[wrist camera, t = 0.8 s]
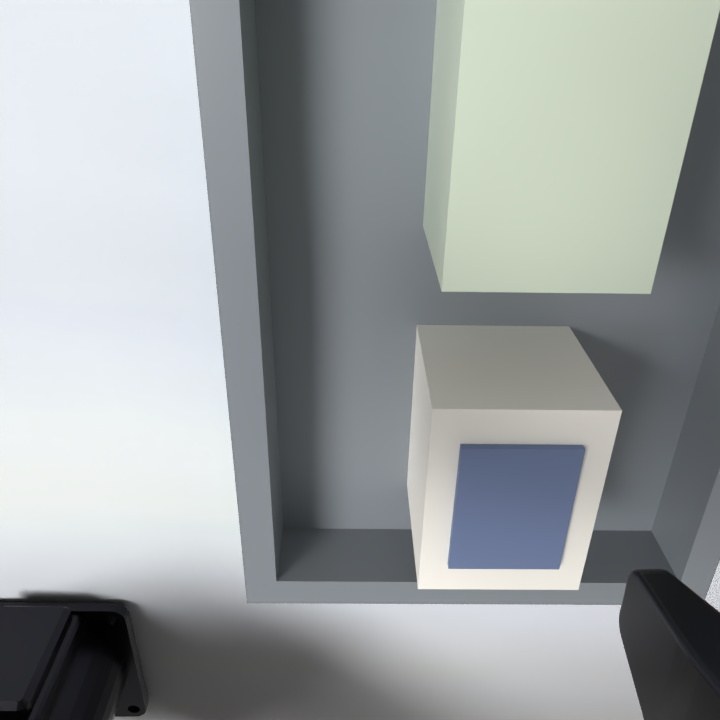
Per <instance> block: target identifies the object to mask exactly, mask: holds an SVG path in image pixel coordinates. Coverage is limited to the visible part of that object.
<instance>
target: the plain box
mask: <svg viewBox="0 0 720 720" xmlns="http://www.w3.org/2000/svg"><path fill="white" fill-rule="evenodd" d="M719 11H720V0H437V8H436V24H435V40H434V56H433V73H432V89H431V105H430V121H429V137H428V153H427V169H426V186H425V202H424V218H423V228H424V231H425V235H426V238H427V242H428V245H429V249H430V252H431V256H432V259H433V263H434V266H435V270H436V274H437V277H438V281H439V284H440V288H441V291H442V292H526V293H618V294H651V290H652V286H653V282H654V278H655V274H656V270H657V265H658V261H659V257H660V253H661V249H662V245H663V241H664V237H665V233H666V229H667V224H668V220H669V216H670V212H671V208H672V204H673V200H674V196H675V192H676V188H677V183H678V179H679V175H680V171H681V167H682V163H683V159H684V155H685V151H686V147H687V142H688V138H689V134H690V130H691V126H692V122H693V118H694V114H695V110H696V106H697V101H698V97H699V93H700V89H701V85H702V81H703V77H704V73H705V69H706V65H707V60H708V56H709V52H710V48H711V44H712V40H713V36H714V32H715V28H716V23H717V19H718V15H719Z"/></svg>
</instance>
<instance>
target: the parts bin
mask: <svg viewBox="0 0 720 720" xmlns="http://www.w3.org/2000/svg"><path fill="white" fill-rule="evenodd" d="M189 2H190V13H191V23H192V33H193V44H194V54H195V65H196V75H197V86H198V96H199V106H200V117H201V127H202V138H203V148H204V159H205V169H206V179H207V190H208V200H209V211H210V221H211V232H212V242H213V252H214V263H215V273H216V284H217V294H218V304H219V315H220V325H221V336H222V346H223V357H224V367H225V377H226V388H227V398H228V409H229V419H230V430H231V440H232V450H233V461H234V471H235V482H236V492H237V502H238V513H239V523H240V534H241V544H242V555H243V565H244V575H245V586H246V596H247V603H359V604H572V605H622V600H623V596H624V591H625V587H626V582H627V578H628V576H629V574H630V572H631V571H633V570H635V569H665V570H667V571H669V572H670V573H672V574H673V575H674V576H675V577H677V578H678V579H679V580H680V581H682V582H683V583H684V584H685V585H687V586H688V587H689V588H690V589H691V590H693V591H694V592H695V593H696V594H698V595H699V596H700V597H701V598H703V599H704V600H705V597H706V595H707V592H708V590H709V587H710V584H711V582H712V579H713V576H714V574H715V571H716V568H717V566H718V563H719V560H720V11H719V15H718V19H717V23H716V28H715V32H714V36H713V40H712V44H711V48H710V52H709V56H708V60H707V65H706V69H705V73H704V77H703V81H702V85H701V89H700V93H699V97H698V101H697V106H696V110H695V114H694V118H693V122H692V126H691V130H690V134H689V138H688V142H687V147H686V151H685V155H684V159H683V163H682V167H681V171H680V175H679V179H678V183H677V188H676V192H675V196H674V200H673V204H672V208H671V212H670V216H669V220H668V224H667V229H666V233H665V237H664V241H663V245H662V249H661V253H660V257H659V261H658V265H657V270H656V274H655V278H654V282H653V286H652V290H651V294H618V293H526V292H442V291H441V288H440V284H439V281H438V277H437V274H436V270H435V266H434V263H433V259H432V256H431V252H430V249H429V245H428V242H427V238H426V235H425V231H424V228H423V218H424V202H425V186H426V169H427V153H428V137H429V121H430V105H431V89H432V73H433V56H434V40H435V24H436V8H437V0H189ZM417 325H478V326H569V327H570V329H571V330H572V332H573V333H574V335H575V336H576V338H577V340H578V341H579V343H580V344H581V346H582V348H583V349H584V351H585V352H586V354H587V356H588V357H589V359H590V360H591V362H592V364H593V365H594V367H595V368H596V370H597V371H598V373H599V375H600V376H601V378H602V379H603V381H604V383H605V384H606V386H607V387H608V389H609V391H610V392H611V394H612V395H613V397H614V399H615V400H616V402H617V403H618V405H619V406H620V408H621V410H622V413H621V417H620V421H619V425H618V430H617V434H616V438H615V442H614V446H613V450H612V454H611V458H610V462H609V466H608V471H607V475H606V479H605V483H604V487H603V491H602V495H601V499H600V503H599V507H598V512H597V516H596V520H595V524H594V528H593V532H592V536H591V540H590V544H589V548H588V553H587V557H586V561H585V565H584V569H583V573H582V577H581V581H580V585H579V589H578V590H483V589H418V585H417V576H416V566H415V557H414V547H413V538H412V528H411V518H410V509H409V499H408V490H407V476H408V460H409V444H410V428H411V411H412V395H413V379H414V363H415V347H416V331H417Z"/></svg>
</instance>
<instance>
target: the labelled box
mask: <svg viewBox="0 0 720 720" xmlns="http://www.w3.org/2000/svg"><path fill="white" fill-rule="evenodd" d="M621 413H622V410H621V408H620V406H619V405H618V403H617V402H616V400H615V399H614V397H613V395H612V394H611V392H610V391H609V389H608V387H607V386H606V384H605V383H604V381H603V379H602V378H601V376H600V375H599V373H598V371H597V370H596V368H595V367H594V365H593V364H592V362H591V360H590V359H589V357H588V356H587V354H586V352H585V351H584V349H583V348H582V346H581V344H580V343H579V341H578V340H577V338H576V336H575V335H574V333H573V332H572V330H571V329H570V327H569V326H478V325H417V331H416V347H415V363H414V379H413V395H412V411H411V428H410V444H409V460H408V476H407V490H408V499H409V509H410V518H411V528H412V538H413V547H414V557H415V566H416V576H417V585H418V589H483V590H578V589H579V585H580V581H581V577H582V573H583V569H584V565H585V561H586V557H587V553H588V548H589V544H590V540H591V536H592V532H593V528H594V524H595V520H596V516H597V512H598V507H599V503H600V499H601V495H602V491H603V487H604V483H605V479H606V475H607V471H608V466H609V462H610V458H611V454H612V450H613V446H614V442H615V438H616V434H617V430H618V425H619V421H620V417H621Z"/></svg>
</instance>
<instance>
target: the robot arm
mask: <svg viewBox="0 0 720 720" xmlns="http://www.w3.org/2000/svg"><path fill="white" fill-rule="evenodd" d="M619 628H620V634H621V638H622V641H623V645H624V649H625V652H626V656H627V659H628V663H629V667H630V670H631V674H632V677H633V681H634V685H635V688H636V692H637V696H638V699H639V703H640V706H641V710H642V714H643V717H644V720H720V612H719V611H717V610H716V609H715V608H714V607H712V606H711V605H710V604H709V603H707V602H706V601H705V600H704V599H703V598H701V597H700V596H699V595H698V594H696V593H695V592H694V591H693V590H691V589H690V588H689V587H688V586H687V585H685V584H684V583H683V582H682V581H680V580H679V579H678V578H677V577H675V576H674V575H673V574H672V573H670V572H669V571H667V570H665V569H635V570H633V571H631V572H630V574H629V576H628V578H627V582H626V587H625V591H624V596H623V600H622V605H621V609H620V614H619ZM147 705H148V698H147V693H146V689H145V684H144V680H143V675H142V670H141V666H140V661H139V657H138V652H137V648H136V643H135V639H134V634H133V630H132V625H131V621H130V616H129V612H128V610H127V608H126V607H125V606H123V605H121V604H118V603H36V602H0V720H113V719H114V716H141V715H143V714H144V713H145V711H146V708H147Z"/></svg>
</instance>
